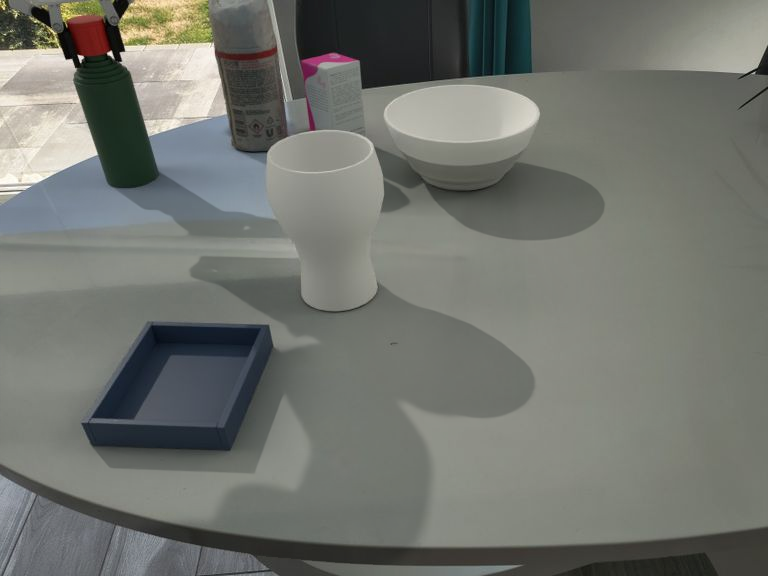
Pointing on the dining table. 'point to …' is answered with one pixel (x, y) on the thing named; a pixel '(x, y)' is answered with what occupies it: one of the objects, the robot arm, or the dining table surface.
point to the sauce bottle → (115, 121)
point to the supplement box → (334, 93)
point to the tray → (181, 387)
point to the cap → (89, 35)
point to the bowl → (461, 133)
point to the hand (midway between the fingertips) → (97, 60)
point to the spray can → (249, 72)
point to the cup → (328, 212)
